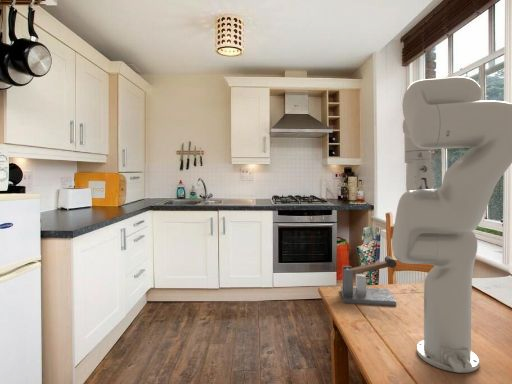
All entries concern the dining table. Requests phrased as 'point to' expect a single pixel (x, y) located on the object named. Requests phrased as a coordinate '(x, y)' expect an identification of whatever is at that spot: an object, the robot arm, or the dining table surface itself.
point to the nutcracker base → (370, 292)
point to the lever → (375, 266)
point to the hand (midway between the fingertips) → (417, 215)
